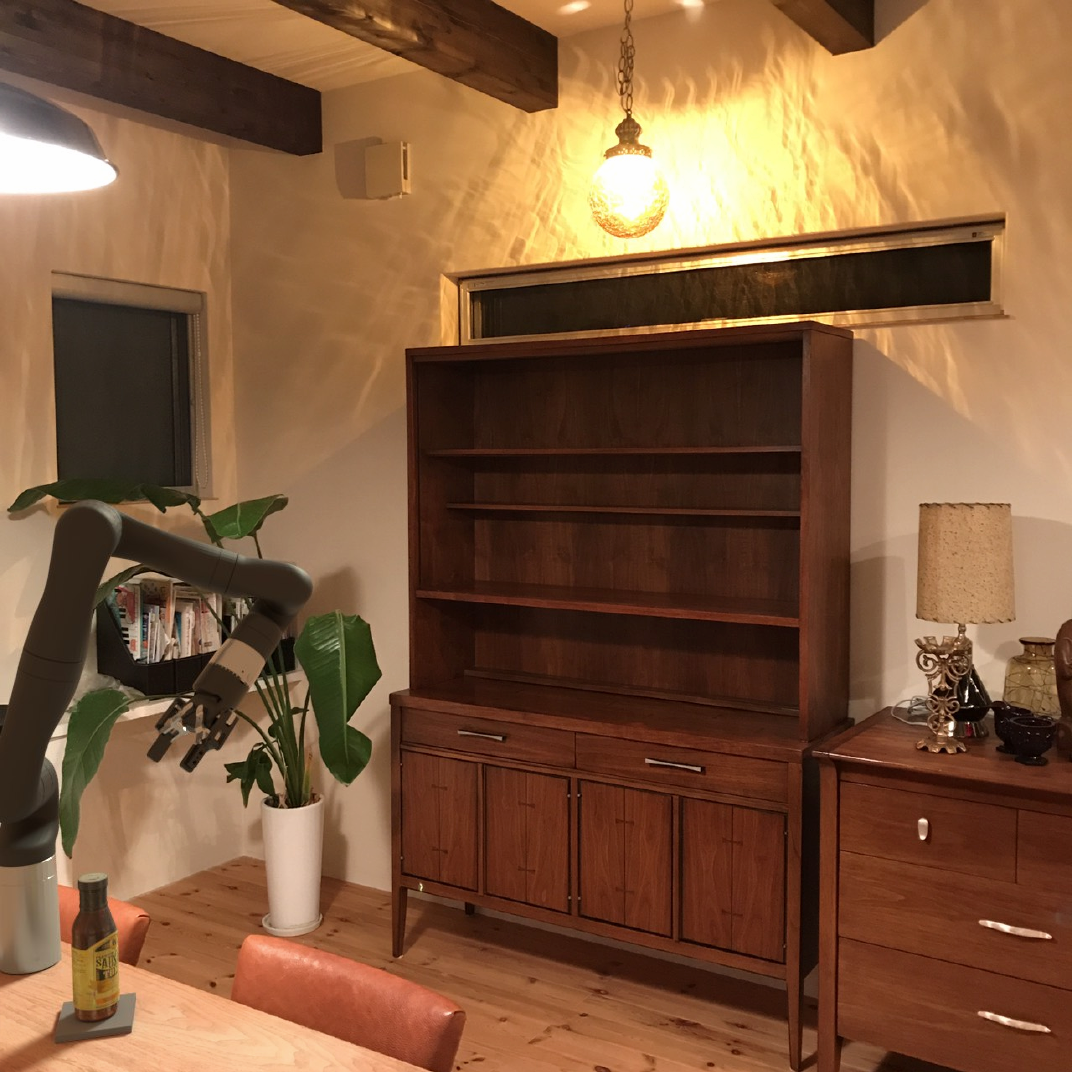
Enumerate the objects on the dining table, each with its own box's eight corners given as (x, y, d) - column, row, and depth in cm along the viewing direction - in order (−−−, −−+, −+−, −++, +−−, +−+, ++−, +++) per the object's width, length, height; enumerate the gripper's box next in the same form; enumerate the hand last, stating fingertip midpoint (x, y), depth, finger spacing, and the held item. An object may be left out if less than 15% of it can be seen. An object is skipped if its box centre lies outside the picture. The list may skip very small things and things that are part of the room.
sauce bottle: (104, 1025, 162) (97, 888, 161) (64, 1022, 164) (57, 885, 162) (130, 1003, 169) (123, 870, 167) (91, 999, 170) (84, 868, 168)
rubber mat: (63, 1008, 169) (63, 1002, 169) (136, 998, 172) (135, 992, 172) (55, 1043, 160) (54, 1036, 160) (131, 1032, 163) (131, 1025, 162)
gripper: (187, 655, 182) (124, 743, 174) (243, 666, 173) (179, 759, 165) (217, 683, 186) (157, 769, 179) (273, 695, 177) (212, 786, 170)
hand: (167, 764), depth 172 cm, fingers open, 8 cm apart
